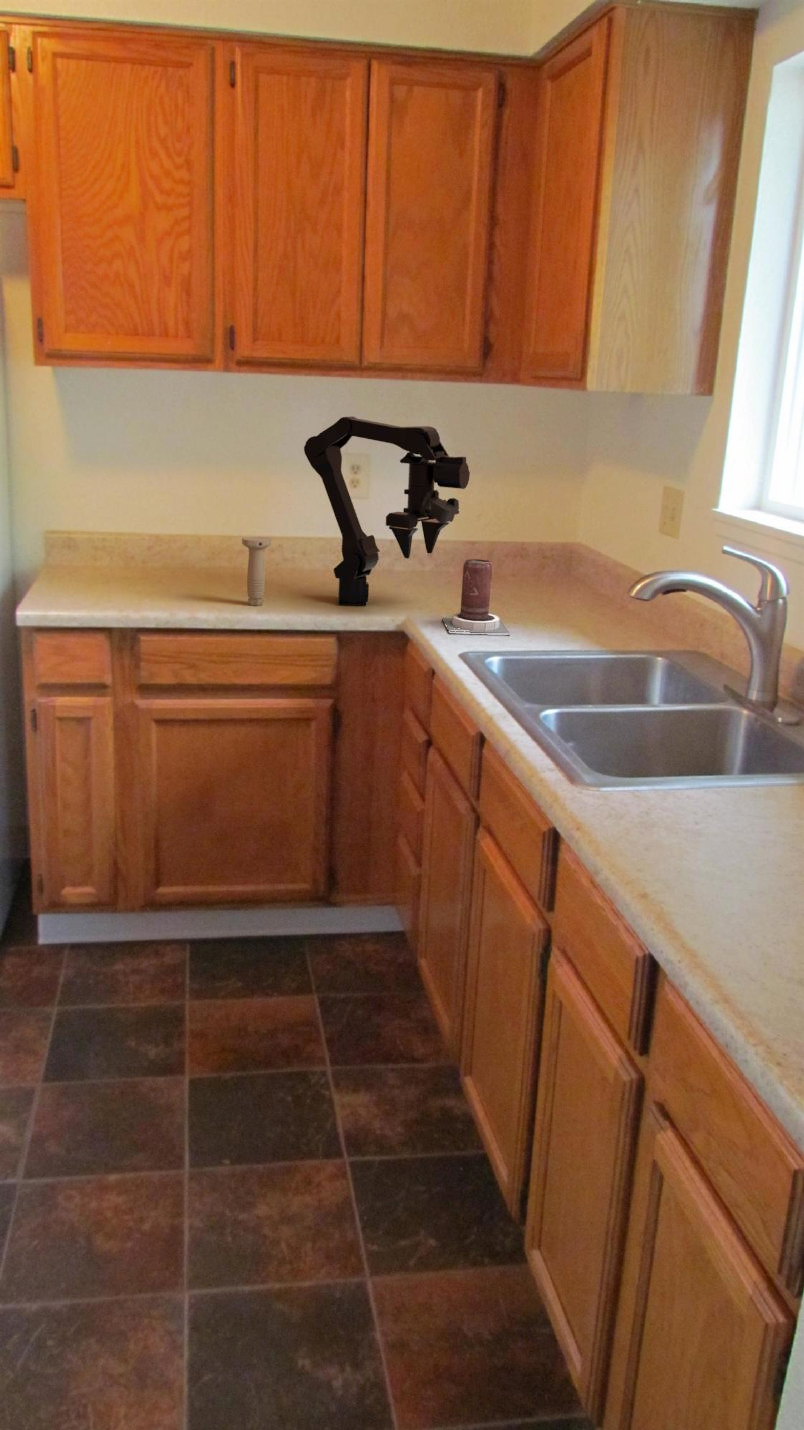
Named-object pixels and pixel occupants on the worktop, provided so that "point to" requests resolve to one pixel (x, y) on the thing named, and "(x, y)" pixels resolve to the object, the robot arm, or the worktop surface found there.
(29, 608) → the worktop surface
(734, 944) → the worktop surface
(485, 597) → the can
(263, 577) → the handle
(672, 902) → the worktop surface
